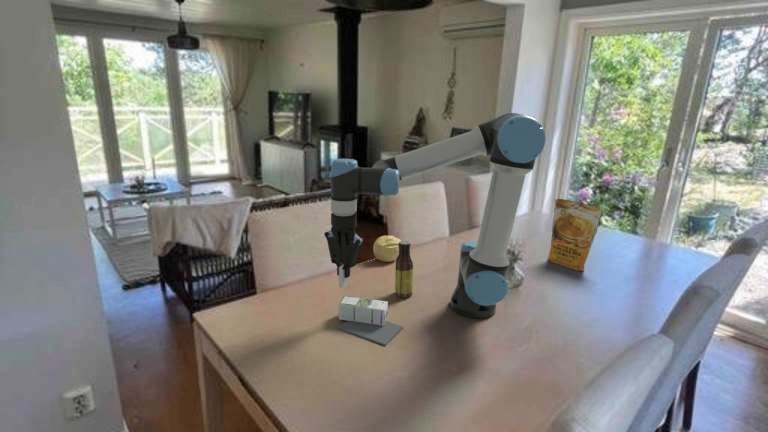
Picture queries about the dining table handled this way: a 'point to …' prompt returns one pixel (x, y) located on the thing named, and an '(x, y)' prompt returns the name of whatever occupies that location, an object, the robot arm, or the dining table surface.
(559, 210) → the pancake mix bag
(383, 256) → the yellow round lump
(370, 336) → the felt mat
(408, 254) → the sauce bottle
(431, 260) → the dining table surface
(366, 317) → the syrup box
